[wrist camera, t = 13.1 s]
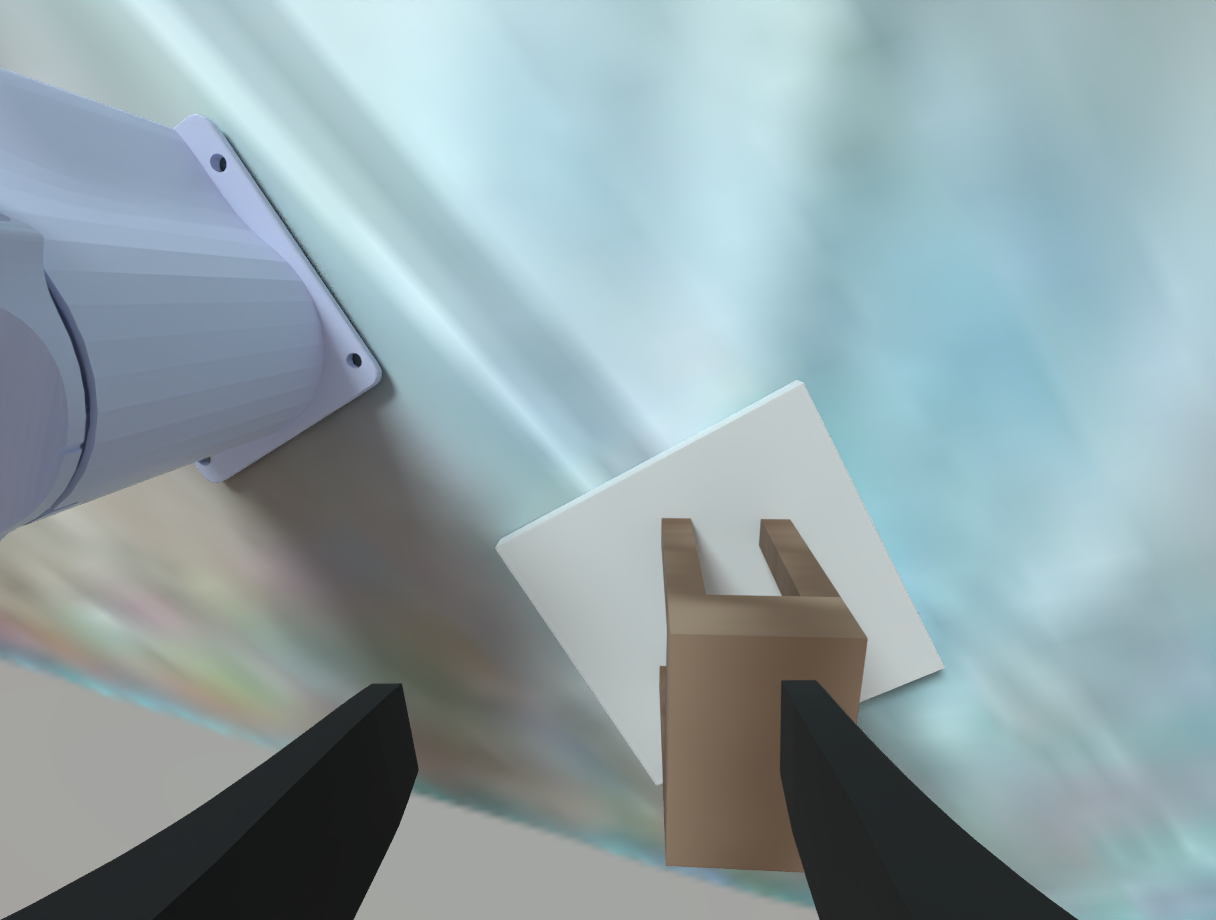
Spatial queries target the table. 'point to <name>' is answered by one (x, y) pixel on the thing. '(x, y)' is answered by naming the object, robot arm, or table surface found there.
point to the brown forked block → (743, 696)
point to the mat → (710, 556)
